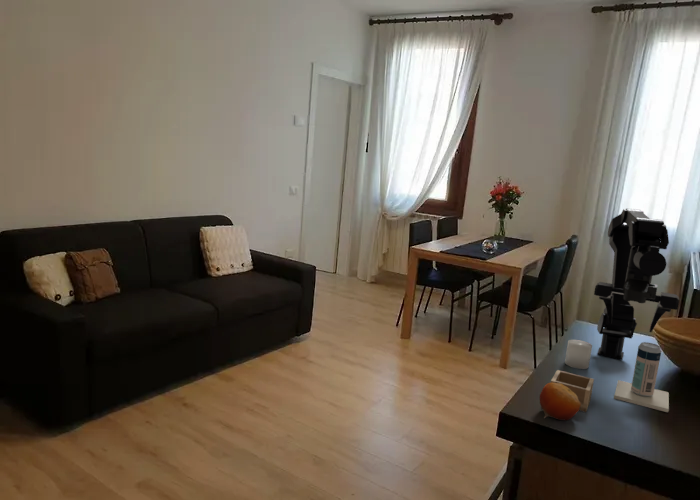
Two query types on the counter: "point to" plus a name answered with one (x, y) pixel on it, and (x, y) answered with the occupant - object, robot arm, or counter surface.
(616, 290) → the robot arm
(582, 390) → the oak box
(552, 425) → the counter surface
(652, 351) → the beer can
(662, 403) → the plate
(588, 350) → the white rounded cylinder
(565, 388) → the fruit
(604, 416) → the counter surface
